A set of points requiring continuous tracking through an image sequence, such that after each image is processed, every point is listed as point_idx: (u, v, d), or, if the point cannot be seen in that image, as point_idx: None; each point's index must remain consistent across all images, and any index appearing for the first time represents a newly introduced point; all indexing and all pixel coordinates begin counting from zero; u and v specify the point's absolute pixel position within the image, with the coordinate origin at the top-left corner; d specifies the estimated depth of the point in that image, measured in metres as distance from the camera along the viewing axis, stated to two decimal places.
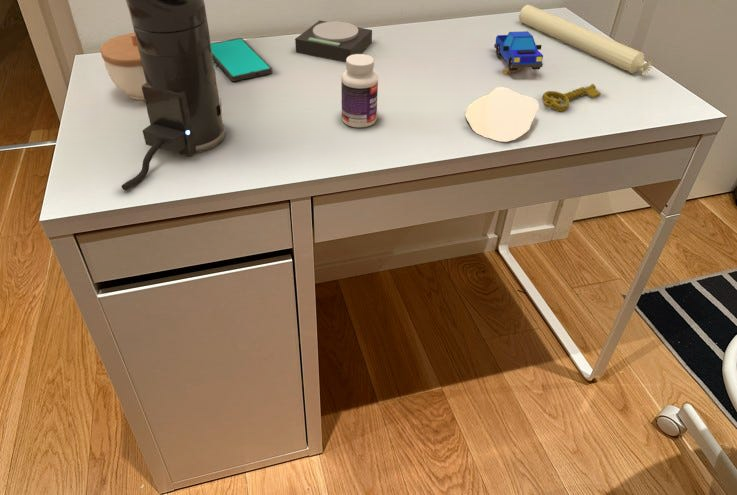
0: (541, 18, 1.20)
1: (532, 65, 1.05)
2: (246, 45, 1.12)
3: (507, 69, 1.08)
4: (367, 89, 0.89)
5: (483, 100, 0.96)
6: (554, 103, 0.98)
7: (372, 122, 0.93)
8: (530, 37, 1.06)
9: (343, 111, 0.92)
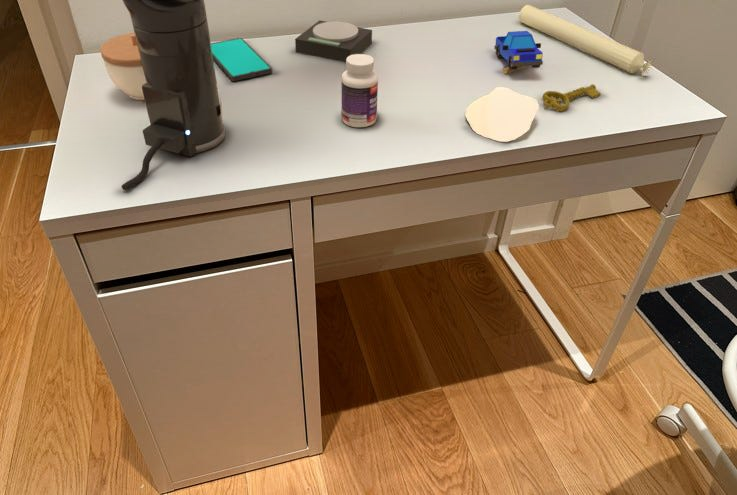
0: (541, 18, 1.20)
1: (532, 63, 1.04)
2: (246, 45, 1.12)
3: (507, 68, 1.07)
4: (367, 89, 0.89)
5: (483, 100, 0.96)
6: (554, 103, 0.98)
7: (372, 122, 0.93)
8: (529, 36, 1.06)
9: (343, 111, 0.92)
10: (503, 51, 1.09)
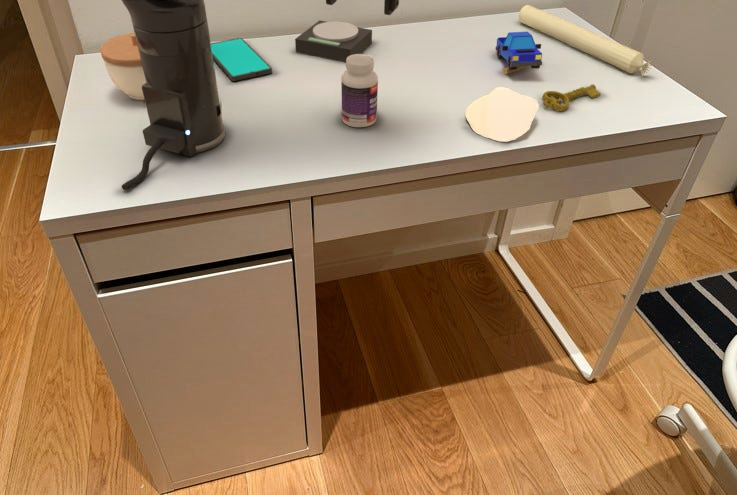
0: (540, 18, 1.20)
1: (531, 63, 1.04)
2: (246, 45, 1.12)
3: (508, 68, 1.07)
4: (367, 89, 0.89)
5: (483, 100, 0.96)
6: (554, 103, 0.98)
7: (372, 122, 0.93)
8: (529, 36, 1.06)
9: (343, 111, 0.92)
10: (503, 52, 1.09)
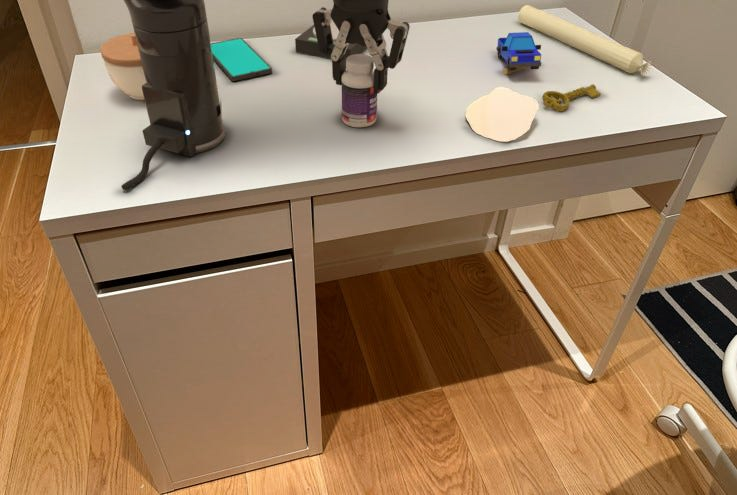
0: (540, 18, 1.20)
1: (530, 64, 1.04)
2: (246, 45, 1.12)
3: None
4: (367, 89, 0.89)
5: (483, 100, 0.96)
6: (554, 103, 0.98)
7: (372, 122, 0.93)
8: (529, 37, 1.06)
9: (343, 111, 0.92)
10: (503, 52, 1.09)
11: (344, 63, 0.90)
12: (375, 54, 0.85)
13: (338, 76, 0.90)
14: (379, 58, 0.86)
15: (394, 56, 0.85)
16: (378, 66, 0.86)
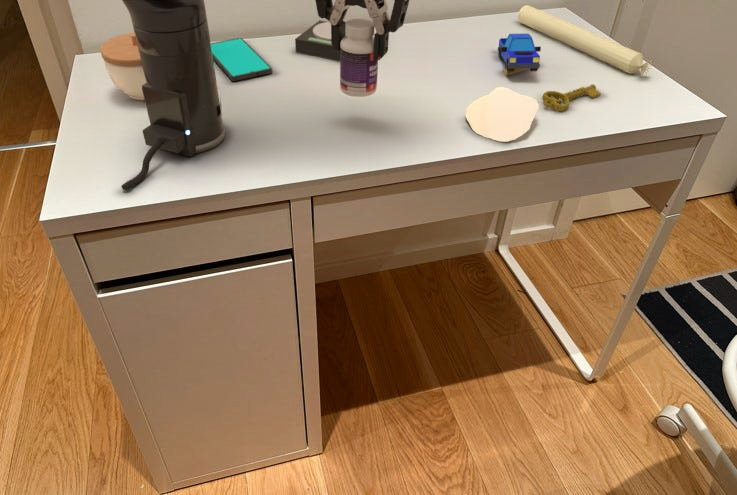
0: (540, 18, 1.20)
1: (529, 66, 1.04)
2: (246, 45, 1.12)
3: None
4: (367, 55, 0.85)
5: (483, 100, 0.96)
6: (554, 103, 0.98)
7: (372, 92, 0.89)
8: (529, 39, 1.05)
9: (341, 79, 0.88)
10: (503, 53, 1.09)
11: (344, 28, 0.86)
12: (376, 16, 0.81)
13: (337, 41, 0.86)
14: (380, 21, 0.81)
15: (395, 19, 0.80)
16: (379, 30, 0.82)
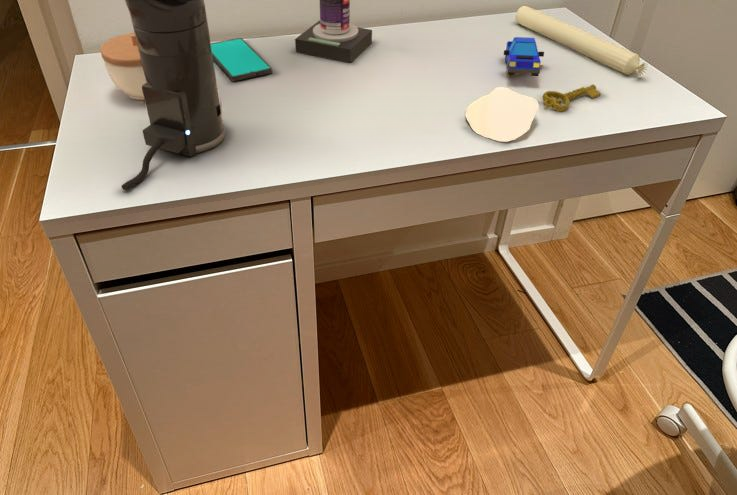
0: (537, 19, 1.20)
1: (529, 71, 1.02)
2: (246, 45, 1.12)
3: None
4: (340, 0, 1.08)
5: (483, 100, 0.96)
6: (554, 103, 0.98)
7: (345, 30, 1.12)
8: (533, 43, 1.04)
9: (321, 21, 1.11)
10: (507, 56, 1.08)
11: None
12: None
13: None
14: None
15: None
16: None
